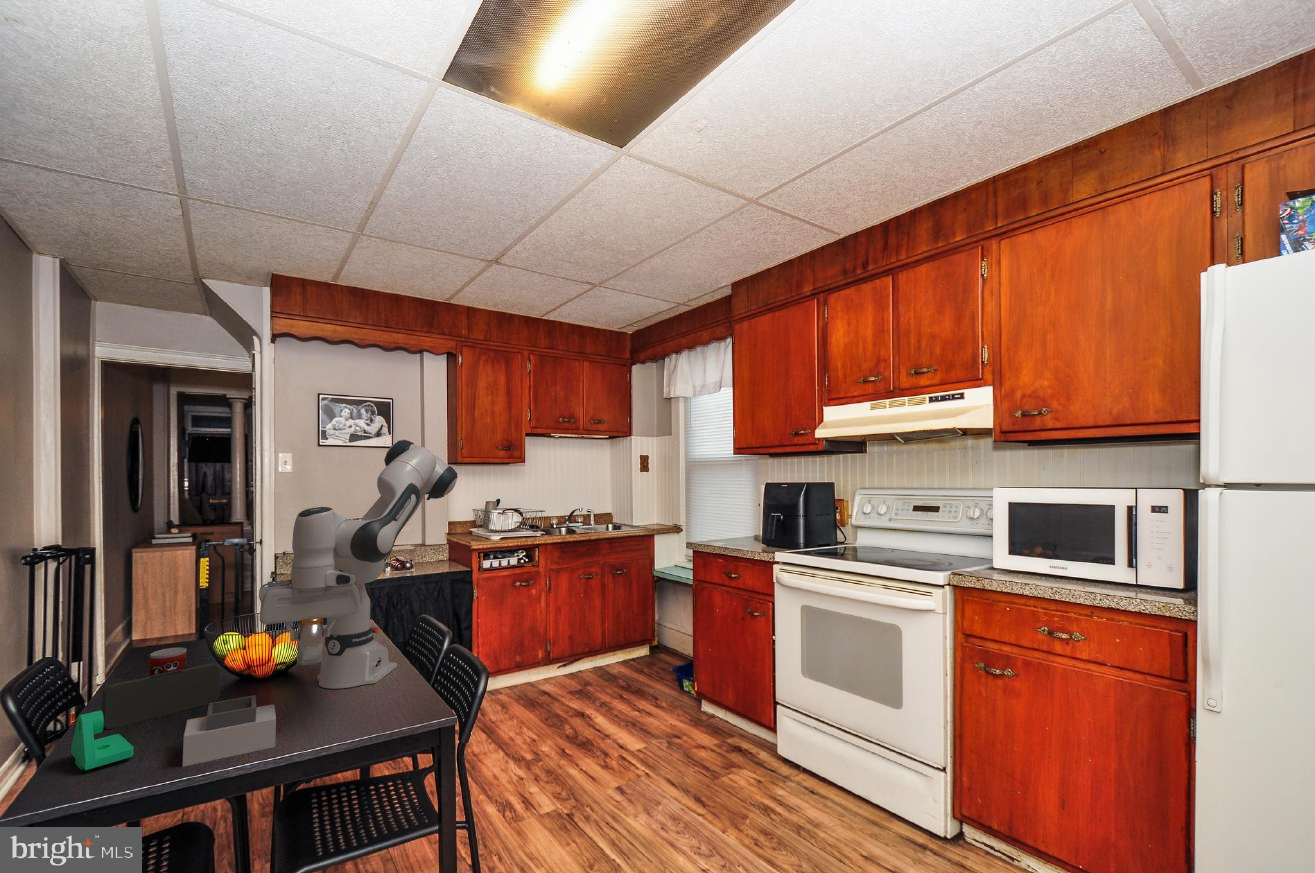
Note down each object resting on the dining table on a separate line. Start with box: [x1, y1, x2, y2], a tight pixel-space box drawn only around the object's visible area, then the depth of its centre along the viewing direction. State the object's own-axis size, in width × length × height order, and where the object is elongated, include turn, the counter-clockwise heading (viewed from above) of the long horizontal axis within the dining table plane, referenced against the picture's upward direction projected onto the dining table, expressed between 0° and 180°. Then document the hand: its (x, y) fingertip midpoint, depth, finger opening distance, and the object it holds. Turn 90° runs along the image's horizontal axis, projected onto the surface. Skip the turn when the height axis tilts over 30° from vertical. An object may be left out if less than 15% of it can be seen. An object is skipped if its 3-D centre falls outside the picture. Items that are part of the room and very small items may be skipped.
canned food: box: [148, 647, 187, 676], centre depth 166 cm, size 8×8×11 cm
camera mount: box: [70, 709, 135, 771], centre depth 129 cm, size 12×8×10 cm, turn 53°
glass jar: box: [296, 618, 325, 666], centre depth 142 cm, size 5×5×10 cm
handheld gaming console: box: [101, 662, 221, 730], centre depth 152 cm, size 23×3×10 cm, turn 143°
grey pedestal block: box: [182, 694, 277, 768], centre depth 134 cm, size 16×10×9 cm, turn 124°
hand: (310, 638), depth 142 cm, fingers closed on glass jar, 5 cm apart
